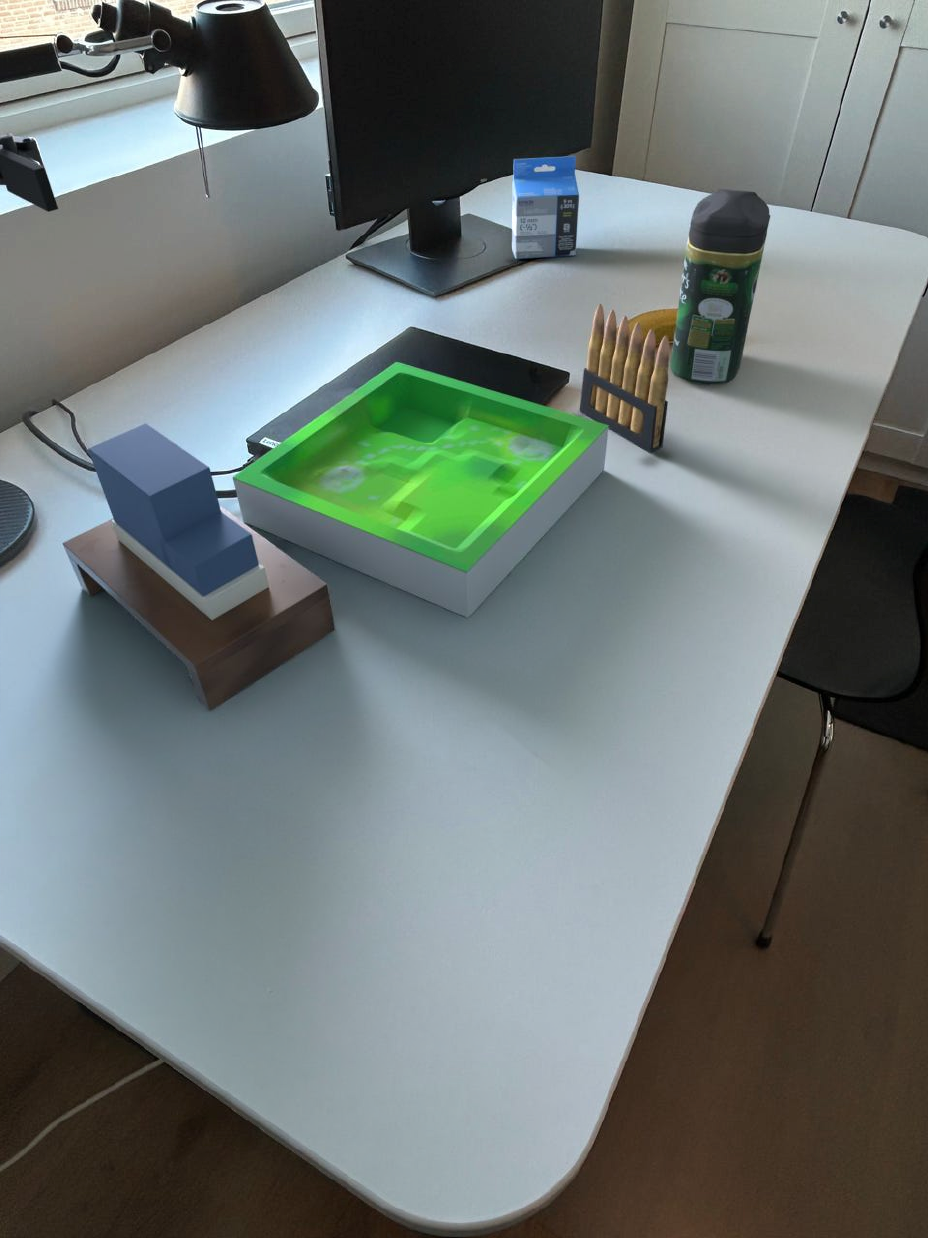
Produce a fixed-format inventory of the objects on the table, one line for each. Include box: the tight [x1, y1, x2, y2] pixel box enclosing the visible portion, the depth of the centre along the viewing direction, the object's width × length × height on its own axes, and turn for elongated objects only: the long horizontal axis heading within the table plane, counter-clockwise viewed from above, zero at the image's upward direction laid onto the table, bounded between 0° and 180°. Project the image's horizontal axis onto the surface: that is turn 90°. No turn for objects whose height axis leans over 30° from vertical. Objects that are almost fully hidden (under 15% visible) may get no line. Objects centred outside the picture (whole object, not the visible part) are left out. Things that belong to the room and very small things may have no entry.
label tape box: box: [511, 155, 580, 260], centre depth 123 cm, size 9×4×12 cm, turn 95°
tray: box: [232, 361, 609, 619], centre depth 83 cm, size 25×25×5 cm
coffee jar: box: [670, 188, 771, 386], centre depth 95 cm, size 10×8×19 cm
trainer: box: [87, 423, 269, 620], centre depth 67 cm, size 5×14×9 cm, turn 45°
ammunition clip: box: [579, 303, 670, 454], centre depth 88 cm, size 11×2×12 cm, turn 37°
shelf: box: [62, 505, 336, 712], centre depth 72 cm, size 12×20×5 cm, turn 45°
